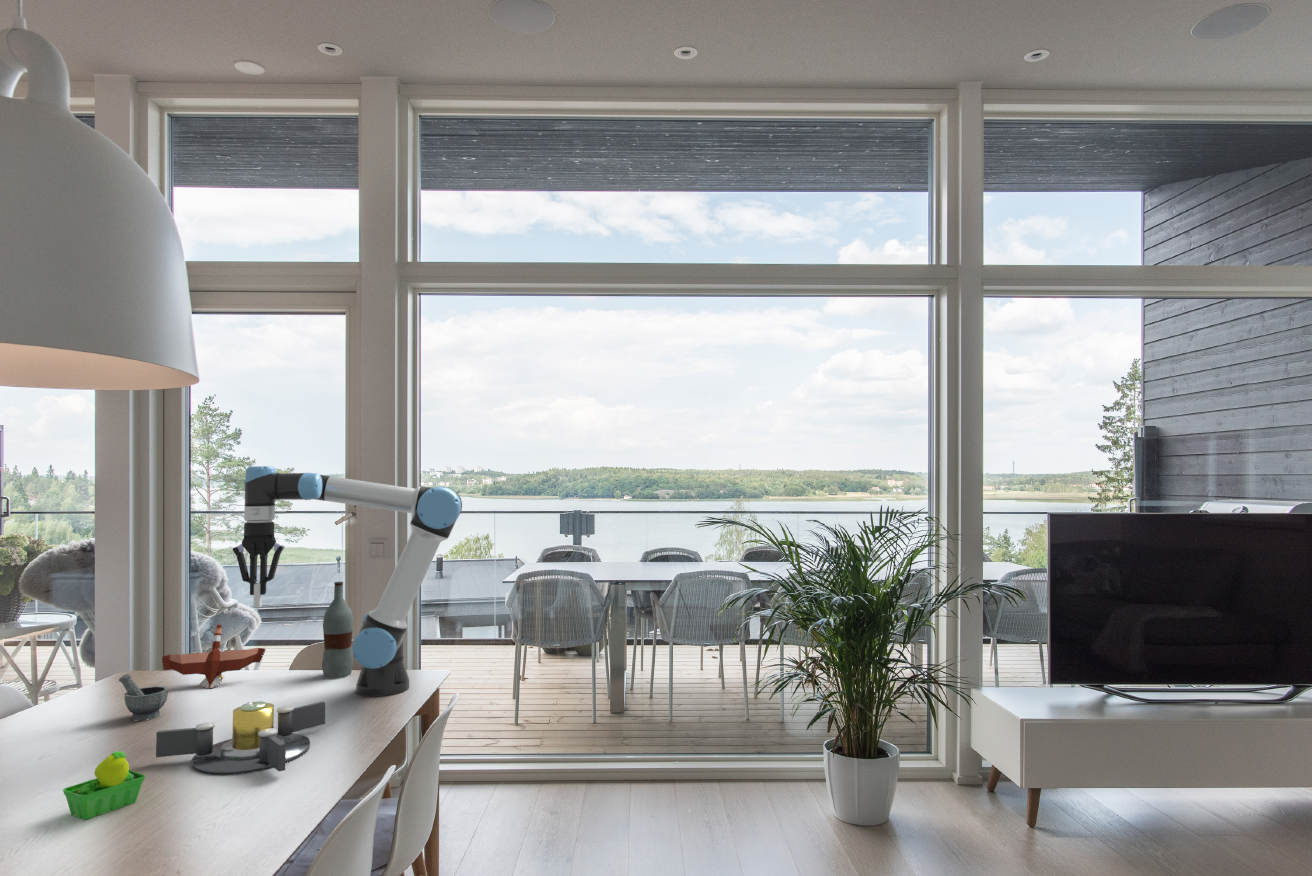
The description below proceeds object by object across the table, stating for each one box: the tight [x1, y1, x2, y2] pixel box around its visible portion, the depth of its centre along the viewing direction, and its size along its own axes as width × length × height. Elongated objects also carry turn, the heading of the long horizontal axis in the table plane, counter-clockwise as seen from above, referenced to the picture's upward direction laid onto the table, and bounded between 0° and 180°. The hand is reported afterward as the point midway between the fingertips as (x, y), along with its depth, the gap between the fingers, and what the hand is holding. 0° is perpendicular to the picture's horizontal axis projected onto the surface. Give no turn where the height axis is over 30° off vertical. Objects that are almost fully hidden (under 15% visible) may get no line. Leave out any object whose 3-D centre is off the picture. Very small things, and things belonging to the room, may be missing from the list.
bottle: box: [321, 581, 354, 679], centre depth 244 cm, size 9×9×30 cm
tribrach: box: [191, 700, 311, 776], centre depth 174 cm, size 24×24×12 cm
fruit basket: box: [62, 750, 146, 821], centre depth 145 cm, size 11×9×11 cm
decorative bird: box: [161, 624, 266, 690], centre depth 235 cm, size 28×18×15 cm, turn 110°
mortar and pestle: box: [118, 673, 169, 722], centre depth 201 cm, size 11×9×12 cm
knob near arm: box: [276, 700, 326, 736], centre depth 186 cm, size 12×4×6 cm, turn 138°
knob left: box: [258, 728, 286, 772], centre depth 164 cm, size 12×4×6 cm, turn 45°
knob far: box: [155, 721, 216, 758], centre depth 170 cm, size 12×4×6 cm, turn 105°
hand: (257, 606), depth 208 cm, fingers closed
